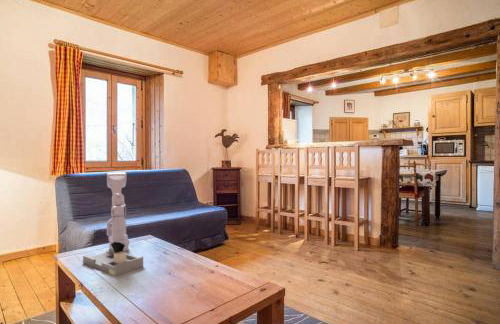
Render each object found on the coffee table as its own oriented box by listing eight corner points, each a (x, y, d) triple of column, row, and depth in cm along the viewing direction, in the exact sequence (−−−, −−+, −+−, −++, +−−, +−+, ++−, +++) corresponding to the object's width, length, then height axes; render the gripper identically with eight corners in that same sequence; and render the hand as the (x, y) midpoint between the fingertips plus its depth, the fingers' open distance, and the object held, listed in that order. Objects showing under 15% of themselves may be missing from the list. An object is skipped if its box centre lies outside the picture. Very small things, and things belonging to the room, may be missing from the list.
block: (121, 259, 142) (121, 251, 142) (126, 261, 140) (126, 252, 139) (113, 261, 138) (113, 253, 138) (118, 263, 136) (118, 255, 136)
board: (110, 255, 154) (110, 246, 154) (143, 266, 138) (143, 256, 138) (83, 263, 142) (83, 253, 142) (115, 276, 127) (115, 265, 127)
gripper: (102, 229, 142) (102, 256, 143) (119, 233, 134) (119, 262, 135) (115, 226, 148) (115, 252, 148) (133, 230, 140) (133, 258, 140)
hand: (118, 257), depth 142 cm, fingers closed
